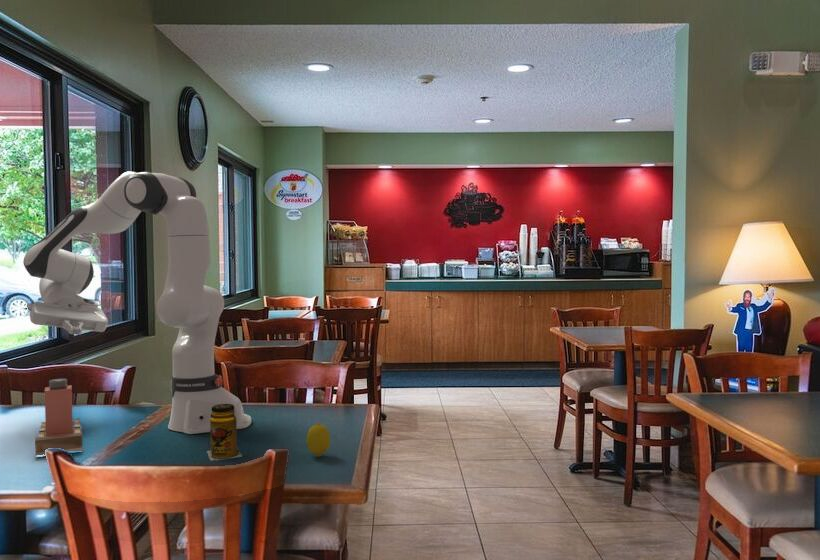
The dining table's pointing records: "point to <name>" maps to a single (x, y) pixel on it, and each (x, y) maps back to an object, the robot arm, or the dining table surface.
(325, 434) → the lemon
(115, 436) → the dining table surface
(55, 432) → the pink upright post
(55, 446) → the press base
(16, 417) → the dining table surface
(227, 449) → the condiment
